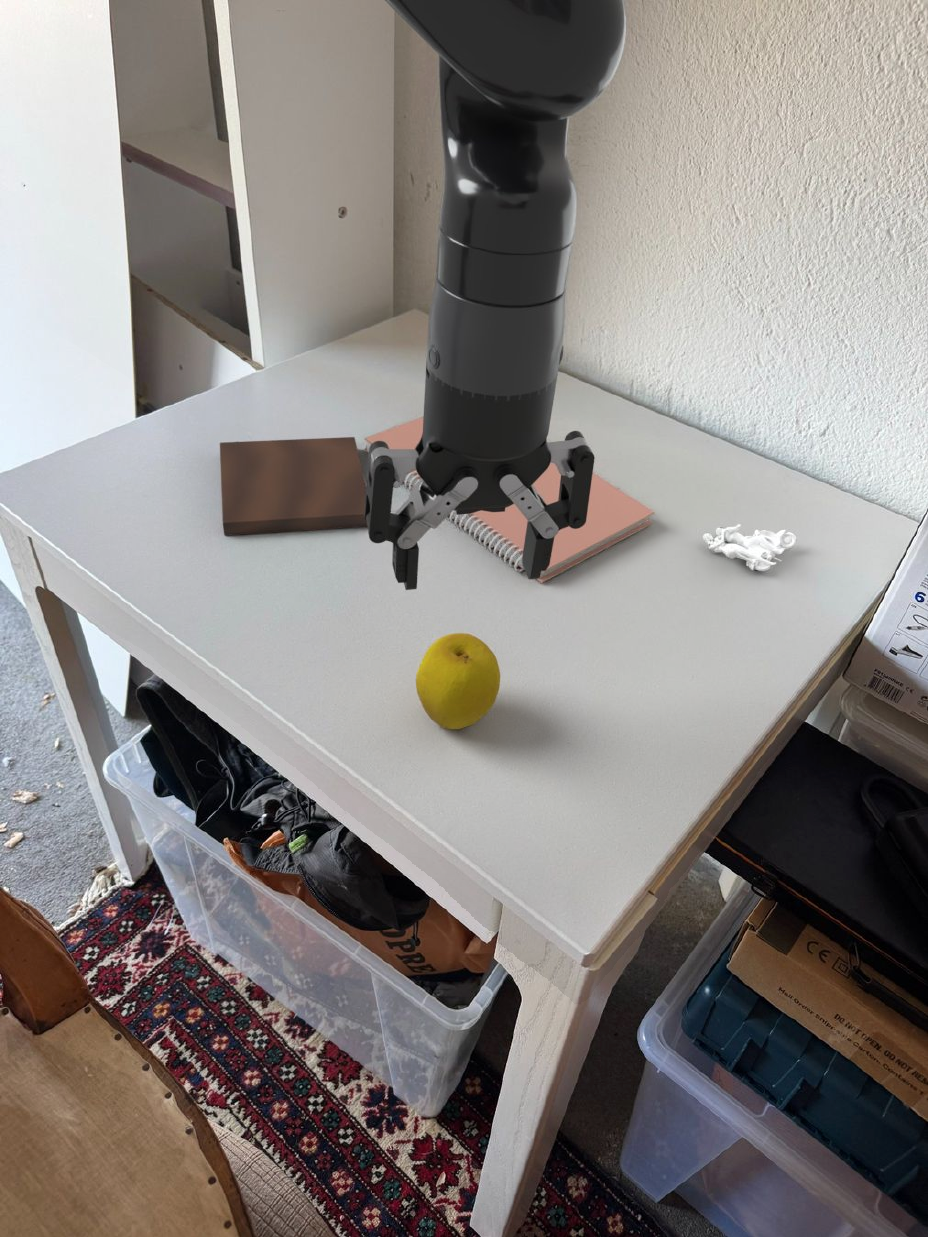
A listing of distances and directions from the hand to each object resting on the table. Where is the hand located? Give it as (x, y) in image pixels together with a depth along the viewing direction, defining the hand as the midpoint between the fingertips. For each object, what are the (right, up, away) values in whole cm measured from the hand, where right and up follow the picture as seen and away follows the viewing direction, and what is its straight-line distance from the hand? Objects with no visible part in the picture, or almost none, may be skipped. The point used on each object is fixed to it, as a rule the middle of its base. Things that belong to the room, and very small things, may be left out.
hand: (469, 576), depth 63 cm
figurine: (+27, +3, +29) cm, 40 cm away
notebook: (+3, +10, +33) cm, 35 cm away
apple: (-1, -11, +10) cm, 14 cm away
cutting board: (-18, +10, +30) cm, 36 cm away
